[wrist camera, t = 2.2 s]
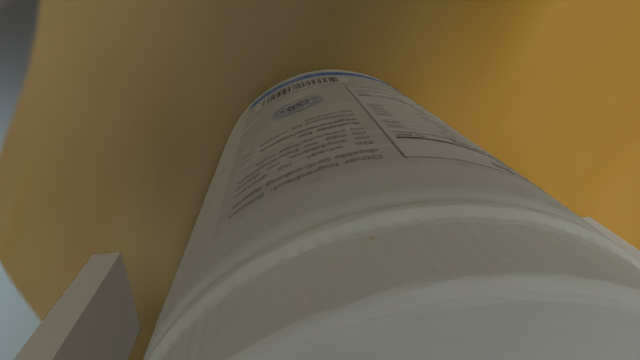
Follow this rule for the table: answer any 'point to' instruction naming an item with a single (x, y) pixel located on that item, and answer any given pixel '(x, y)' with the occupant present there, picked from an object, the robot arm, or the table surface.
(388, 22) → the table surface
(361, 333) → the supplement tub
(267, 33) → the table surface
